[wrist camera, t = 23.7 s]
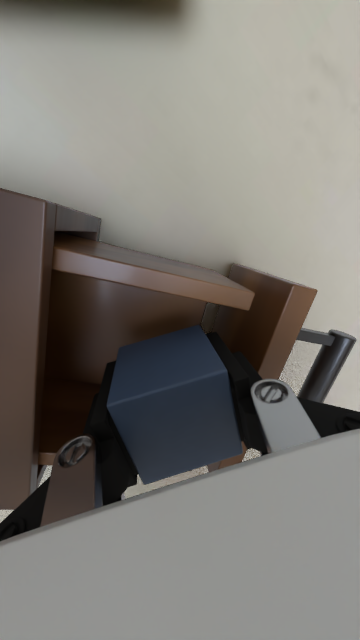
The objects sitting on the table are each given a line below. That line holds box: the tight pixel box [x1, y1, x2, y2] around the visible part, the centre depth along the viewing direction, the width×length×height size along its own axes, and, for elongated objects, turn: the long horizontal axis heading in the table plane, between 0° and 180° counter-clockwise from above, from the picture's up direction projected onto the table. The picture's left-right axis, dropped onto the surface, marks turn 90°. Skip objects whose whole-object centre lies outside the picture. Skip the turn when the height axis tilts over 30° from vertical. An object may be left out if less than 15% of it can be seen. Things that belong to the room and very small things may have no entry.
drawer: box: [38, 231, 356, 472], centre depth 13 cm, size 19×11×7 cm, turn 76°
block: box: [107, 325, 243, 484], centre depth 10 cm, size 4×4×4 cm
